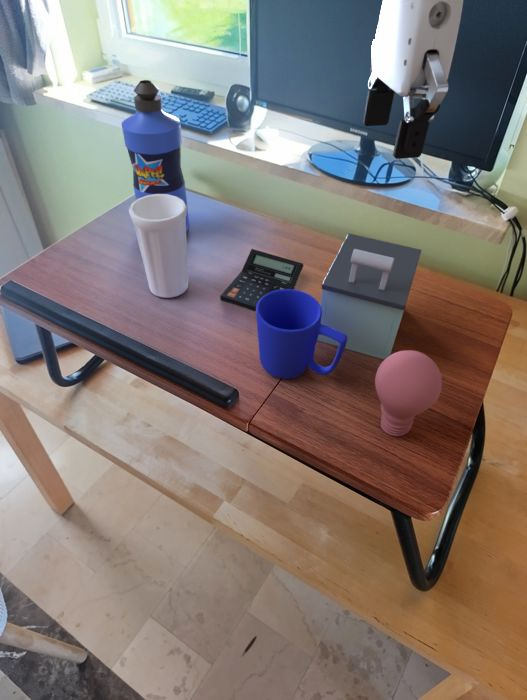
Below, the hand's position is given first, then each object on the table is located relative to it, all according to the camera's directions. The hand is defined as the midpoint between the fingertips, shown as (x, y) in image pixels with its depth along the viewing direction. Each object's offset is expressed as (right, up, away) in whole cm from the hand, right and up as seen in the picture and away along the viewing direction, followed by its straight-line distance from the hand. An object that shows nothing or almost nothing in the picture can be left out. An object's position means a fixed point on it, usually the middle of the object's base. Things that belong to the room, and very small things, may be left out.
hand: (389, 140), depth 57 cm
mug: (-11, -28, +9) cm, 31 cm away
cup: (-30, -15, +21) cm, 40 cm away
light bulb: (+1, -35, +2) cm, 35 cm away
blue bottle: (-34, -2, +34) cm, 48 cm away
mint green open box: (0, -21, +16) cm, 26 cm away
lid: (0, -14, +8) cm, 17 cm away
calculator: (-15, -15, +21) cm, 30 cm away
